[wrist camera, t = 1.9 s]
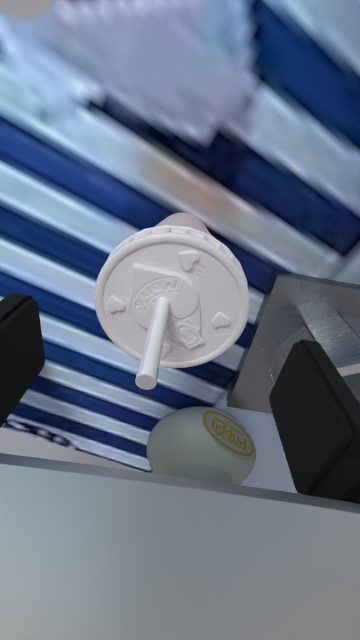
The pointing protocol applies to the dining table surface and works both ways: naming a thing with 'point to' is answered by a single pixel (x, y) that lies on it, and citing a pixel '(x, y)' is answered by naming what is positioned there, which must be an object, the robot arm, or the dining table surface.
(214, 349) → the smoothie
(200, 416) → the air freshener
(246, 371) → the duct collar
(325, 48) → the dining table surface
